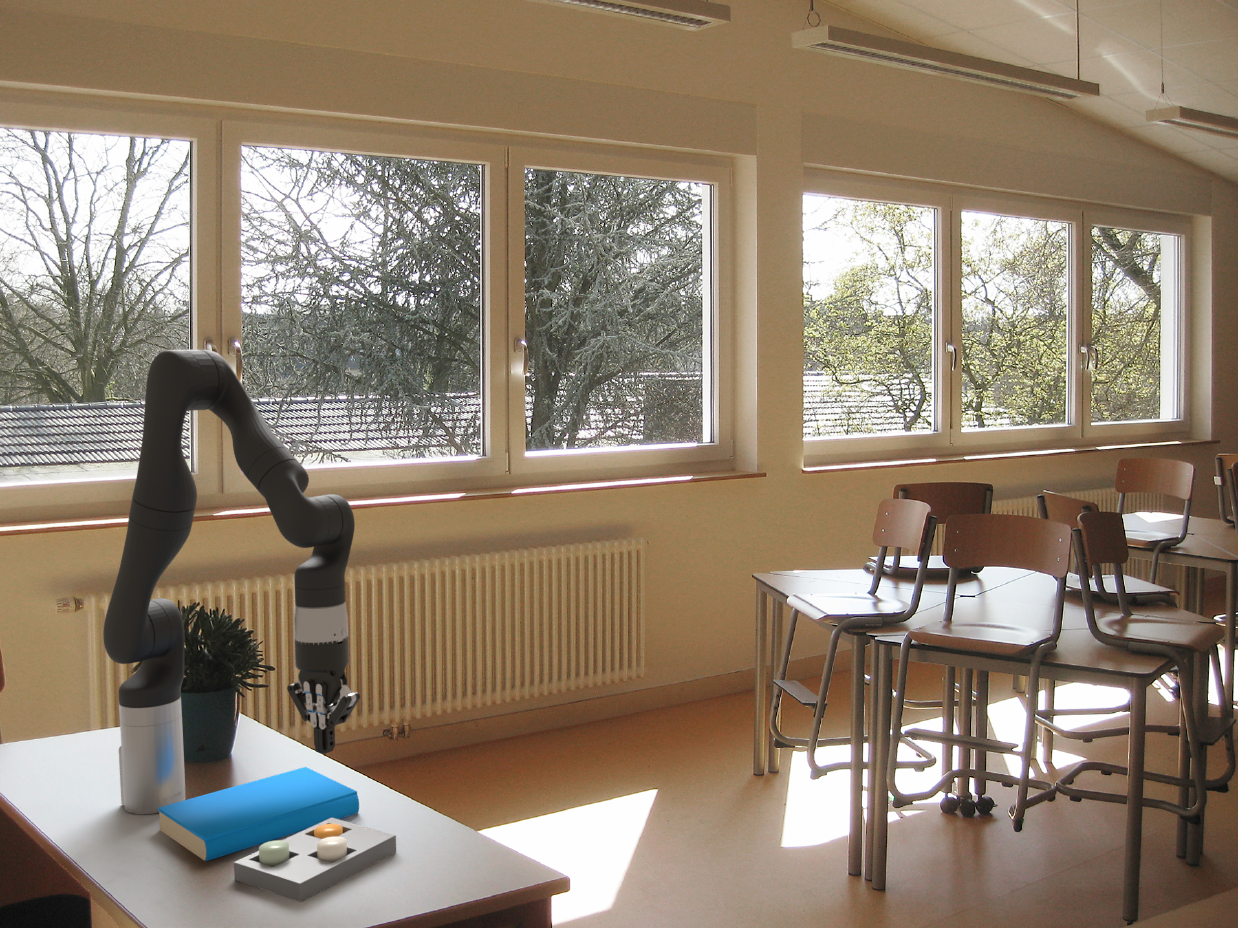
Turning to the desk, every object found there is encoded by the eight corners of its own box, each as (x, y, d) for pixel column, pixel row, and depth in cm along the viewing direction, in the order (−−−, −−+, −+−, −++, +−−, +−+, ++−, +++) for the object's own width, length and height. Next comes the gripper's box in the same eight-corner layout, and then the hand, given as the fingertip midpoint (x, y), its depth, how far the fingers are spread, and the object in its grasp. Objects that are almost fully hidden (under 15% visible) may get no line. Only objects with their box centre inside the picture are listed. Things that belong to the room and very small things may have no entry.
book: (156, 808, 173) (304, 764, 191) (158, 835, 174) (305, 789, 191) (206, 839, 161) (359, 789, 179) (208, 868, 162) (361, 816, 179)
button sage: (253, 866, 157) (252, 848, 156) (276, 855, 160) (275, 838, 160) (273, 872, 154) (272, 854, 154) (295, 861, 158) (295, 844, 158)
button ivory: (311, 862, 158) (310, 844, 157) (332, 851, 161) (332, 834, 161) (331, 868, 156) (331, 850, 155) (353, 857, 159) (352, 840, 159)
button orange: (308, 847, 165) (308, 831, 165) (329, 838, 169) (328, 821, 168) (328, 853, 163) (327, 836, 163) (348, 843, 166) (348, 827, 166)
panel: (234, 879, 156) (233, 862, 156) (332, 833, 171) (331, 817, 171) (300, 902, 149) (300, 883, 149) (396, 852, 164) (395, 835, 164)
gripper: (269, 634, 164) (273, 751, 165) (334, 645, 157) (338, 767, 158) (308, 623, 170) (312, 736, 171) (373, 634, 163) (376, 752, 164)
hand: (325, 751), depth 165 cm, fingers closed
